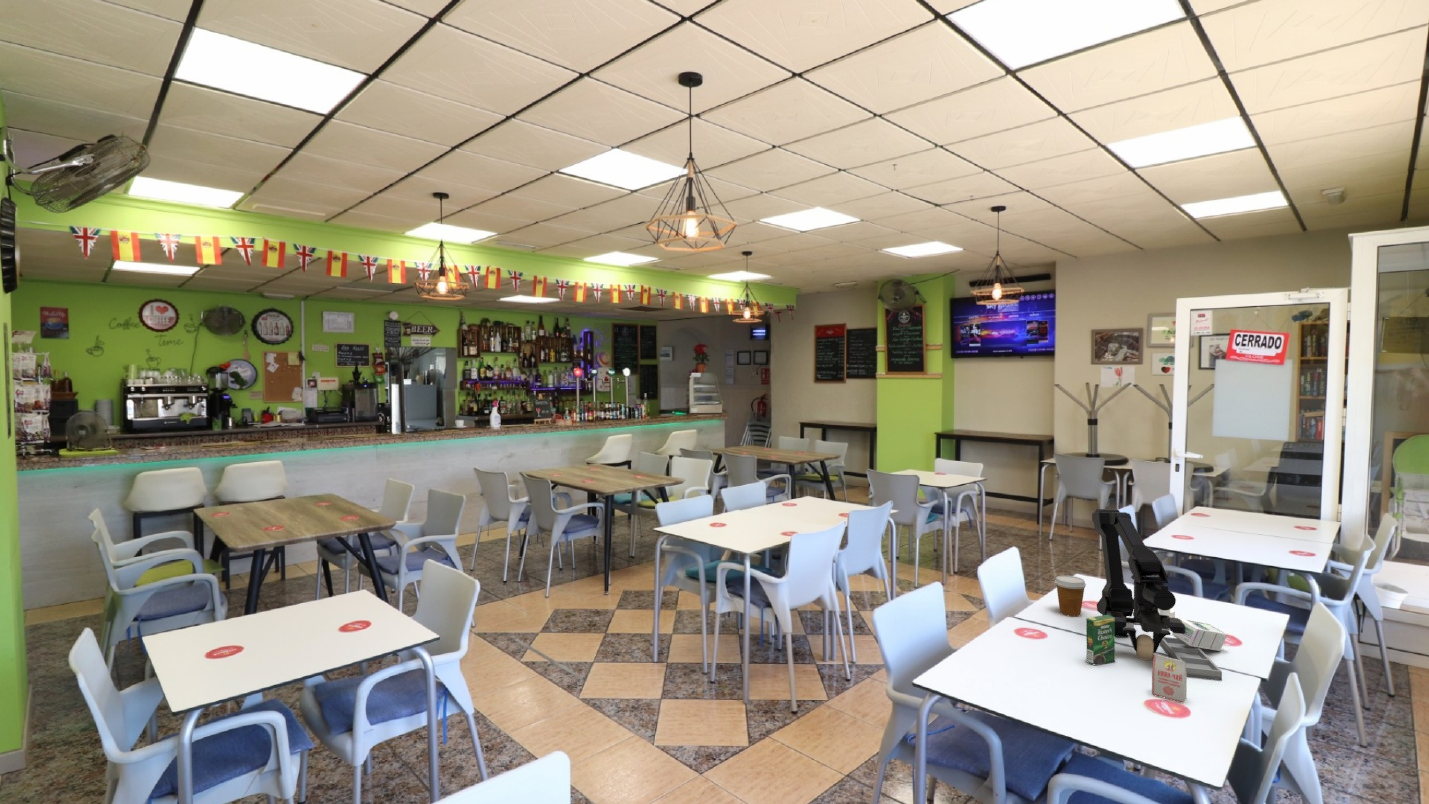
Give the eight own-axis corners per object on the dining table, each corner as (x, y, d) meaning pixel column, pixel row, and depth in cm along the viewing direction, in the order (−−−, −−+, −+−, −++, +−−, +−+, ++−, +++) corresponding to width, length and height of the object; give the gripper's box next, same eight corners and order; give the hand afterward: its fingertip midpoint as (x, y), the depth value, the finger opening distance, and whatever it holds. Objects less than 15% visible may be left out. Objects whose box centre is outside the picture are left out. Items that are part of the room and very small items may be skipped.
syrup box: (1228, 634, 199) (1197, 627, 194) (1220, 652, 200) (1189, 646, 195) (1209, 624, 205) (1178, 617, 199) (1201, 641, 205) (1170, 635, 200)
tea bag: (1155, 689, 176) (1155, 652, 176) (1186, 698, 172) (1186, 659, 171) (1151, 694, 174) (1152, 656, 173) (1183, 703, 169) (1183, 664, 169)
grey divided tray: (1186, 676, 184) (1186, 667, 184) (1159, 644, 206) (1159, 636, 206) (1221, 680, 181) (1221, 671, 181) (1191, 647, 203) (1191, 639, 203)
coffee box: (1093, 666, 191) (1093, 620, 190) (1085, 662, 194) (1085, 617, 193) (1115, 662, 193) (1116, 617, 193) (1107, 658, 196) (1107, 614, 196)
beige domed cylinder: (1138, 659, 195) (1138, 636, 195) (1134, 653, 200) (1134, 631, 199) (1155, 660, 194) (1155, 638, 194) (1151, 654, 198) (1151, 632, 198)
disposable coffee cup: (1060, 617, 230) (1060, 582, 229) (1050, 608, 239) (1051, 574, 239) (1090, 618, 228) (1090, 583, 228) (1079, 609, 237) (1080, 575, 237)
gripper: (1115, 604, 192) (1115, 658, 192) (1192, 611, 186) (1191, 666, 186) (1106, 592, 202) (1106, 644, 203) (1179, 598, 196) (1178, 651, 197)
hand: (1144, 651), depth 197 cm, fingers closed on beige domed cylinder, 4 cm apart
